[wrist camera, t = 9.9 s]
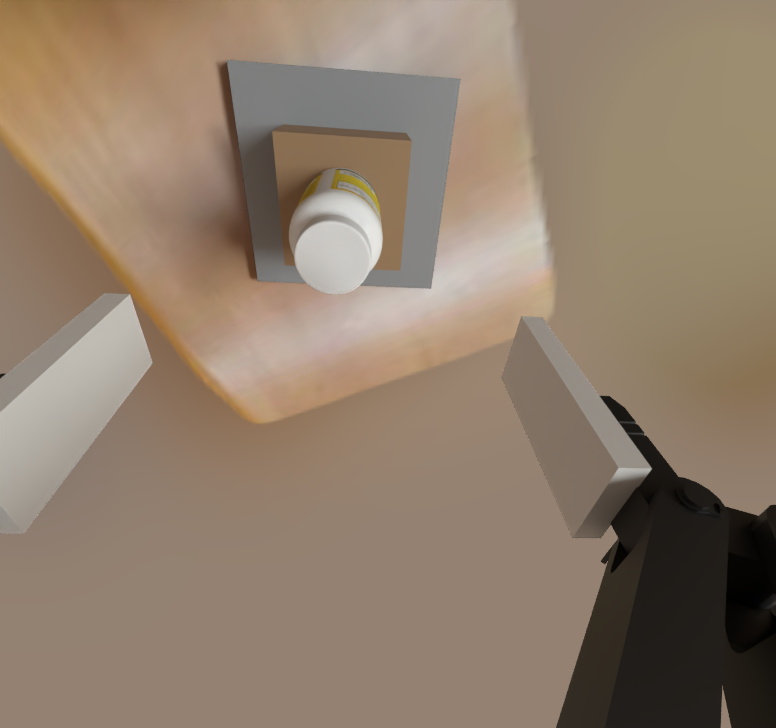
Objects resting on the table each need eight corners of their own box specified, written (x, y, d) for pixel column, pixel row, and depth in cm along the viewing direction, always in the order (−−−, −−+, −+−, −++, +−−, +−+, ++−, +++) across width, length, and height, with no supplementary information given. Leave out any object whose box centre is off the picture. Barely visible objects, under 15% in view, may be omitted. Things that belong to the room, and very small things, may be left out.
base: (230, 60, 27) (204, 57, 23) (457, 79, 28) (474, 79, 24) (260, 276, 37) (245, 304, 32) (429, 283, 38) (437, 311, 33)
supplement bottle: (315, 251, 30) (296, 314, 22) (293, 174, 27) (261, 215, 19) (386, 238, 29) (392, 297, 21) (372, 159, 26) (373, 194, 18)
